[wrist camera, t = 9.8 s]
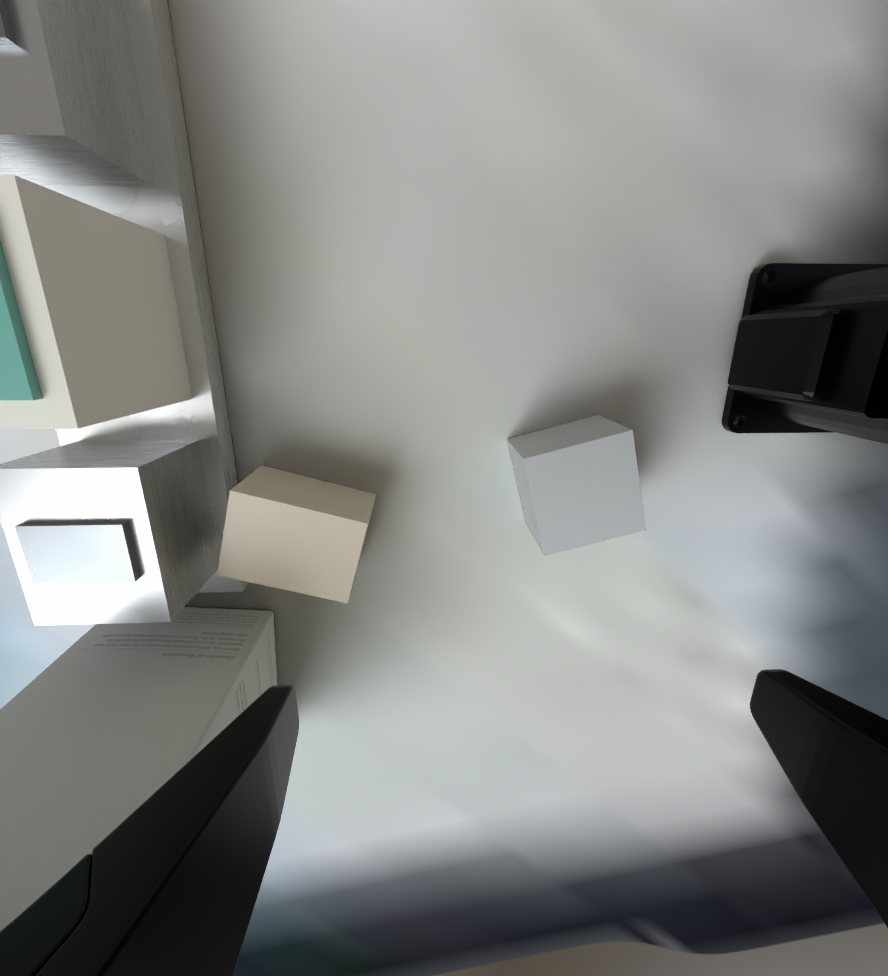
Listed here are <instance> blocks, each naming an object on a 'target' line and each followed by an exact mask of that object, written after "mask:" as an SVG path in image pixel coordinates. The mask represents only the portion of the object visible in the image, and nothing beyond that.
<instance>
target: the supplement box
mask: <svg viewBox="0 0 888 976" xmlns="http://www.w3.org/2000/svg"><path fill="white" fill-rule="evenodd" d="M275 685H277V667H276V649H275V633H274V614H273V612H272V611H265V610H247V609H221V608H197V607H184V608H183V609H182V610H181V611H180V612H179V614H178V615H177V616H176V617H175V618H174V619H173V620H172V622H157V623H116V624H96V625H95V626H94V627H93V628H91V629H90V630H89V631H88V632H87V633H86V634H85V635H83V636H82V637H81V638H80V639H79V640H78V641H77V642H76V643H74V644H73V645H72V646H71V647H70V648H69V649H68V650H67V651H66V652H64V653H63V654H62V655H61V656H60V657H59V658H58V659H57V660H56V661H54V662H53V663H52V664H51V665H50V666H49V667H48V668H46V669H45V670H44V671H43V672H42V673H41V674H40V675H39V676H38V677H36V678H35V679H34V680H33V681H32V682H31V683H30V684H29V685H28V686H26V687H25V688H24V689H23V690H22V691H21V692H20V693H19V694H17V695H16V696H15V697H14V698H13V699H12V700H11V701H10V702H8V703H7V704H6V705H5V706H4V707H3V708H2V709H1V710H0V931H1V930H2V929H3V928H4V927H6V926H7V925H8V924H9V923H10V922H12V921H13V920H14V919H15V918H16V917H17V916H19V915H20V914H21V913H22V912H23V911H24V910H25V909H26V908H28V907H29V906H30V905H31V904H32V903H33V902H34V901H35V900H37V899H38V898H39V897H40V896H41V895H42V894H43V893H44V892H46V891H47V890H48V889H49V888H50V887H51V886H52V885H53V884H55V883H56V882H57V881H58V880H59V879H60V878H61V877H62V876H64V875H65V874H66V873H67V872H68V871H69V870H70V869H71V868H72V867H73V866H74V865H76V864H77V863H78V862H79V861H80V860H81V859H82V858H83V857H84V856H85V855H87V854H92V850H93V848H94V847H95V846H97V845H98V844H99V843H100V842H101V841H102V840H103V839H104V838H105V837H106V836H107V835H109V834H110V833H111V832H112V831H113V830H114V829H115V828H116V827H117V826H118V825H120V824H121V823H122V822H123V821H124V820H125V819H126V818H127V817H128V816H129V815H130V814H132V813H133V812H134V811H135V810H136V809H137V808H138V807H139V806H140V805H141V804H142V803H144V802H145V801H146V800H147V799H148V798H149V797H150V796H151V795H152V794H153V793H154V792H156V791H157V790H158V789H159V788H160V787H161V786H162V785H163V784H164V783H165V782H166V781H168V780H169V779H170V778H171V777H172V776H173V775H174V774H175V773H176V772H177V771H179V770H180V769H181V768H182V767H183V766H184V765H185V764H186V763H187V762H188V761H189V760H191V759H192V758H193V757H194V756H195V755H196V754H197V753H198V752H199V751H200V750H201V749H203V748H204V747H205V746H206V745H207V744H208V743H209V742H210V741H211V740H212V739H213V738H215V737H216V736H217V735H218V734H219V733H220V732H221V731H222V730H223V729H224V728H225V727H227V726H228V725H229V724H230V723H231V722H232V721H233V720H234V719H235V718H236V717H237V716H239V715H240V714H241V713H242V712H243V711H244V710H245V709H246V708H247V707H248V706H250V705H251V704H252V703H253V702H254V701H255V700H256V699H257V698H258V697H259V696H260V695H262V694H263V693H264V692H265V691H266V690H267V689H268V688H269V687H271V686H275Z"/></svg>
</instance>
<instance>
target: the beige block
mask: <svg viewBox="0 0 888 976" xmlns="http://www.w3.org/2000/svg"><path fill="white" fill-rule="evenodd" d="M375 498H376V494H373V493H369V492H365V491H361V490H358V489H354V488H350V487H346V486H342V485H338V484H334V483H330V482H326V481H322V480H318V479H314V478H310V477H306V476H302V475H298V474H294V473H290V472H286V471H282V470H278V469H274V468H270V467H266V466H262V465H261V466H260V467H259V468H258V469H256V470H255V471H254V472H253V473H251V474H250V475H249V476H247V477H246V478H245V479H244V480H242V481H241V482H240V483H239V484H237V485H236V486H235V487H234V488H232V489H231V490H230V493H229V500H228V506H227V513H226V519H225V526H224V532H223V539H222V545H221V552H220V558H219V565H218V572H217V575H219V576H223V577H228V578H232V579H237V580H242V581H246V582H251V583H255V584H260V585H265V586H269V587H274V588H278V589H283V590H288V591H292V592H297V593H301V594H306V595H311V596H315V597H320V598H324V599H329V600H334V601H338V602H343V603H347V604H348V600H349V597H350V593H351V589H352V586H353V582H354V579H355V575H356V571H357V568H358V564H359V560H360V557H361V553H362V549H363V545H364V541H365V537H366V533H367V529H368V525H369V521H370V517H371V513H372V509H373V506H374V502H375Z"/></svg>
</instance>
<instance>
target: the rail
mask: <svg viewBox="0 0 888 976" xmlns="http://www.w3.org/2000/svg"><path fill="white" fill-rule="evenodd" d="M0 175H16V176H18V177H21V178H23V179H26V180H28V181H31V182H33V183H36V184H38V185H41V186H43V187H46V188H48V189H51V190H53V191H56V192H58V193H61V194H63V195H66V196H68V197H70V198H73V199H75V200H78V201H80V202H83V203H85V204H88V205H90V206H93V207H95V208H98V209H100V210H103V211H105V212H108V213H110V214H113V215H115V216H118V217H120V218H123V219H125V220H127V221H130V222H132V223H135V224H137V225H140V226H142V227H145V228H147V229H150V230H152V231H155V232H157V233H160V234H162V235H165V239H166V245H167V251H168V257H169V263H170V269H171V275H172V281H173V287H174V293H175V299H176V305H177V310H178V316H179V322H180V328H181V334H182V340H183V346H184V352H185V358H186V364H187V370H188V376H189V382H190V388H191V394H192V399H190V400H187V401H183V402H179V403H175V404H171V405H167V406H163V407H160V408H156V409H152V410H148V411H144V412H140V413H137V414H133V415H129V416H125V417H121V418H117V419H113V420H110V421H106V422H102V423H98V424H94V425H90V426H86V427H83V428H79V429H56V432H57V436H58V439H59V443H60V447H57V448H53V449H50V450H47V451H43V452H40V453H36V454H33V455H30V456H26V457H23V458H20V459H16V460H13V461H9V462H6V463H3V464H0V521H1V524H2V527H3V530H4V533H5V536H6V539H7V542H8V545H9V548H10V552H11V555H12V558H13V561H14V564H15V567H16V570H17V573H18V576H19V579H20V582H21V585H22V588H23V591H24V594H25V597H26V600H27V603H28V607H29V610H30V613H31V616H32V619H33V622H34V625H35V626H36V625H76V624H116V623H157V622H172V620H173V619H174V618H175V617H176V616H177V615H178V614H179V612H180V611H181V610H182V609H183V608H184V607H185V606H186V605H187V603H188V602H189V601H190V600H191V599H192V598H193V597H194V596H195V594H196V593H217V592H242V591H243V590H244V589H245V587H246V586H247V584H248V583H249V582H246V581H242V580H237V579H232V578H228V577H223V576H219V575H217V572H218V565H219V558H220V552H221V545H222V539H223V532H224V526H225V519H226V513H227V506H228V500H229V493H230V490H231V489H232V488H234V487H235V486H236V485H237V484H238V480H237V473H236V466H235V459H234V452H233V445H232V439H231V432H230V425H229V418H228V411H227V405H226V398H225V391H224V384H223V377H222V370H221V364H220V357H219V350H218V343H217V336H216V329H215V323H214V316H213V309H212V302H211V295H210V289H209V282H208V275H207V268H206V261H205V254H204V248H203V241H202V234H201V227H200V220H199V214H198V207H197V200H196V193H195V186H194V179H193V173H192V166H191V159H190V152H189V145H188V139H187V132H186V125H185V118H184V111H183V104H182V98H181V91H180V84H179V77H178V70H177V64H176V57H175V50H174V43H173V36H172V29H171V23H170V16H169V9H168V2H167V0H0Z"/></svg>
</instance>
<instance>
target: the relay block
mask: <svg viewBox="0 0 888 976" xmlns="http://www.w3.org/2000/svg"><path fill="white" fill-rule="evenodd" d="M507 443H508V448H509V452H510V457H511V461H512V466H513V470H514V475H515V479H516V484H517V488H518V493H519V497H520V502H521V506H522V511H523V515H524V519H525V523H526V525H527V526H528V528H529V530H530V532H531V534H532V535H533V537H534V539H535V541H536V542H537V544H538V546H539V548H540V549H541V551H542V553H543V555H544V556H546V555H550V554H553V553H557V552H561V551H565V550H569V549H573V548H577V547H581V546H584V545H588V544H592V543H596V542H600V541H604V540H608V539H612V538H615V537H619V536H623V535H627V534H631V533H635V532H639V531H643V530H646V527H645V519H644V512H643V504H642V496H641V489H640V481H639V473H638V466H637V458H636V450H635V443H634V435H633V430H632V429H630V428H627V427H625V426H623V425H620V424H618V423H616V422H613V421H611V420H609V419H606V418H604V417H602V416H599V415H595V416H591V417H588V418H584V419H580V420H576V421H573V422H569V423H565V424H562V425H558V426H554V427H550V428H547V429H543V430H539V431H535V432H532V433H528V434H524V435H521V436H517V437H513V438H509V439H507Z"/></svg>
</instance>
